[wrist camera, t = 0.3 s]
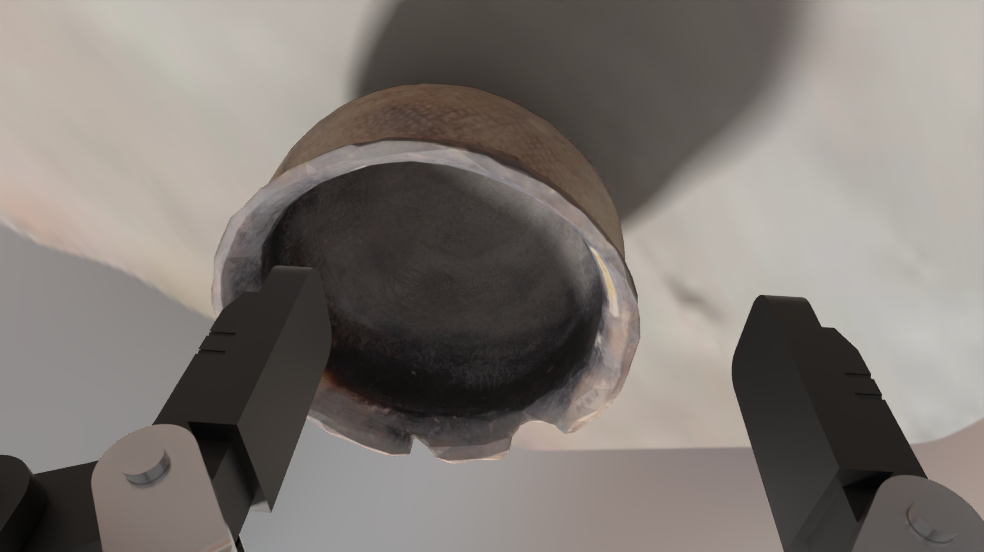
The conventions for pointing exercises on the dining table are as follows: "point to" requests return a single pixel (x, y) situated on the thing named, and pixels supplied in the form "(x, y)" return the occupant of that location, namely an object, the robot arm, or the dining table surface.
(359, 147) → the ceramic bowl
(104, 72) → the dining table surface
